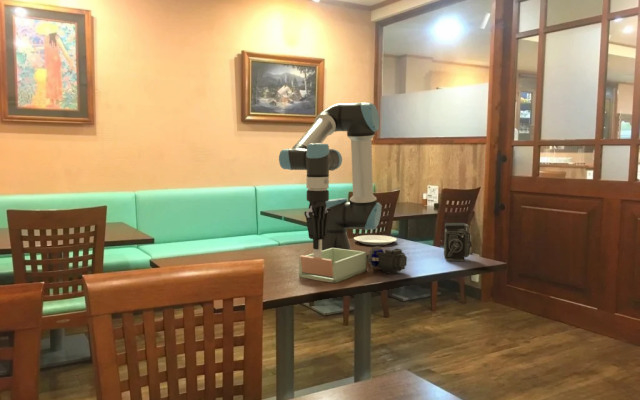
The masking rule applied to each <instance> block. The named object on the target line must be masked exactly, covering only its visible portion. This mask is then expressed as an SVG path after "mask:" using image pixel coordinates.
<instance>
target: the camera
mask: <svg viewBox="0 0 640 400" xmlns="http://www.w3.org/2000/svg"><path fill="white" fill-rule="evenodd" d="M444 227H445V229H444V235H443V236H444V237H443V238H444V241H443V255H444V259H445V260H446V261H447V262H448V261H457V262H459V261H460V262H465V258H468V257H469V256H471V254H472V247H473V246H472V244H473V243H472V234H471V233H470V232H469V230H470V229H469V228H470V226H469V225H468V224H467V223H465V222H445V223H444Z"/></svg>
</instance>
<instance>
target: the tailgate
mask: <svg viewBox="0 0 640 400" xmlns="http://www.w3.org/2000/svg"><path fill="white" fill-rule="evenodd" d="M299 257H300V259H301V266H302V273H304V274H310V275H316V276H322V277H328V278H333V264H332V260H331V259H325V258H317V257H311V256H305V255H303V254H301V255H300V256H299Z"/></svg>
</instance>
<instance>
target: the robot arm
mask: <svg viewBox="0 0 640 400" xmlns="http://www.w3.org/2000/svg"><path fill="white" fill-rule="evenodd" d="M379 129H380V116H379V111H378V109H377V106H376V105H375V104H374V103H372V102H365V101H363V102H362V101H361V102H348V103H347V102H346V103H341V102H340V103H335V104H333V105H331V106H329V107H326V108H324V110H322V111H320V112H319V113H318V114H317V115H316V116H315V118H314V120H313V124H312V125H310V127H309V128H308V130H307V131H306V132H305V133H303V135H302V136H300V139H299V140H297V142H296V143H295V144H294V145H293V146H292V148H283V149H282V150H280V152H279V156H278V162H279V166H280V168H282V169H283V170H289V171H306V189H307V190H306V201H307V202H309V203H308V204H309V205H308V210H307V211H306V210H305V211H304V212H303V215H304V216H305V220H306V226H307V233H308V234H307V235H308V238H309V239H310V240H312V251H313V252H312V253H313V257H317V258H322V251H323V250H326V249H330V248H339V249H346V250H351V243H350V240H349V237H348V231H347V230H348V229H353V230H354V229H355V230H366V231H367V230H376V229H377V228H378V226H379V224H380V221H381V220H380V219H381V215H382V205H381V203H380V202H377V196H375V195H374V193H373V192H374V185H373V183H374V182H373V155H372V154H373V152H372V151H373V150H372V148H373V147H372V146H373V145H372V143H373V142H372V139H373V138H374V137H375V135H376V132H378V131H379ZM335 132H336V133H337V132H346V135H347V138H348V139H349V140H350V150H351V177H352V196H351V197H350V198H349V201H348V198H347V197H346V198H345V197H342V198H341V197H340V198H333V199H330V197H329V196H330V191H329V190H328V189H329V187H330V186H329V185H330V184H329V183H330V179H329V178H330V177H329V176H330V172H332V171H335V170H338V169H339V168H340V167H341V165H342V164H343V157H342V154H341V153H340V151H338V150H336V149H333V148H330V146H329V144H328V143H324V141H325V140H326V139H327V138H328V136H331V135H333V134H334V133H335Z"/></svg>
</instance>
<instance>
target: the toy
mask: <svg viewBox="0 0 640 400" xmlns="http://www.w3.org/2000/svg"><path fill="white" fill-rule="evenodd" d="M368 252H369V253H367V264H369V266H370V268H372V269H375V268H377V270H381V272H382V273H386V274H392V275H396V274H398V272H401V271H402V270H405V269H406V266H407V263H408V262H407V258H408V257H407V256H406V254H405V253H404V252H403V250H402V249H401V248H394V249H393V250H390V249H385V251H384V249H382V248H381V245H376V246H373V247H371V249H370V250H369V251H368Z"/></svg>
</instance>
